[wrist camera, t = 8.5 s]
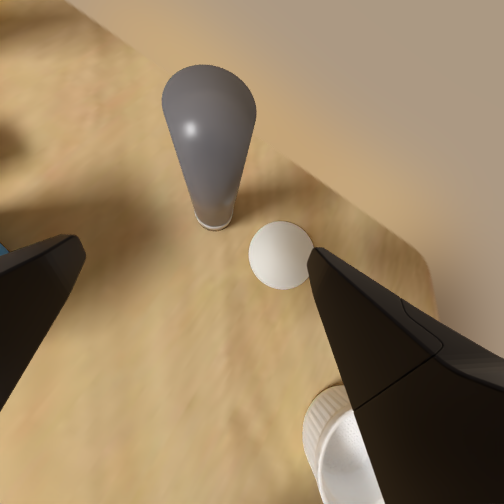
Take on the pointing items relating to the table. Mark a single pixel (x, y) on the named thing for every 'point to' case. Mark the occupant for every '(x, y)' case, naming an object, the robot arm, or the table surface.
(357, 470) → the ramekin
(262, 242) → the pad
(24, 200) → the table surface
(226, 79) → the grey tapered rod
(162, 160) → the table surface
